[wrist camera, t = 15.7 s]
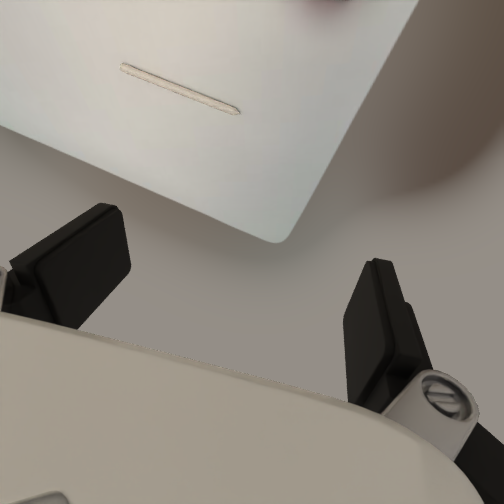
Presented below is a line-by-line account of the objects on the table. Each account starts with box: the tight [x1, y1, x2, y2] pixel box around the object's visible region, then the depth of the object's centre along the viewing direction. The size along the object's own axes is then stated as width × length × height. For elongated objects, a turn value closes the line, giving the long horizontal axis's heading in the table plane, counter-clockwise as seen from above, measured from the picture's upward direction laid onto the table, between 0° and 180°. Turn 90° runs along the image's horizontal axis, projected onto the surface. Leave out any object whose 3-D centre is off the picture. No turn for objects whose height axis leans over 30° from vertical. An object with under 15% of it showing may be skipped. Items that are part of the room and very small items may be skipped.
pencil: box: [120, 63, 240, 115], centre depth 34 cm, size 1×1×15 cm
